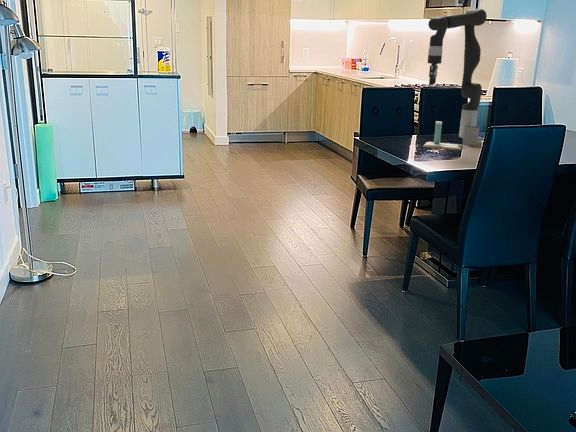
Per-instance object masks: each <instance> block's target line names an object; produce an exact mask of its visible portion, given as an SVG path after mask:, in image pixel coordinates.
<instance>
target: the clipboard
mask: <svg viewBox="0 0 576 432" xmlns="http://www.w3.org/2000/svg"><path fill="white" fill-rule="evenodd" d="M424 143H425V144H424V145H422V147H423V148H429V149H431V148H432V149H441V150H442V149H443V150H453V151H461V150H462V149H463V146H464V144H461V143H460V144H459V143H449V142H440V143H439V144H434V141H426V142H424Z"/></svg>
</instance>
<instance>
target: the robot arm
mask: <svg viewBox="0 0 576 432" xmlns="http://www.w3.org/2000/svg"><path fill="white" fill-rule="evenodd" d="M486 20H487V12H486V11H485V10H484V9H482V8H470V9H467V10H466V11H465V13H454V14H449V15H443V16H433V17H431V18H430V19H429V21H428V24H427V25H428V28H429V29H430V30H431V31H436V33H435V34H432V35H431V36H430V38H429V45H428V46H429V47H428V54H427V64H431V65H429V72H428V78H429V82H428V85H430V86H434V85H435V84H436V83H437V82H436V80H437V76H438V69H439V66H438V64H439V65H440V64H441V63H442V61H443V60H442V57H443V43H444V38H445V35H446V32H447V29H449V30H450V29H455V28H458V27H464V53H463V54H464V55H463V72H462V73H463V74H462V81H461V89H460V91H461V96H462V98H464V99H469V102H467V103H464V104H463V105H462V108H461V115H460V116H461V117H460V124H459V125H460V126H459V132H458V138H459V137H460V138H459V139H463V135H464V127H465V126H477V117H478V110H479V106H480V104H481V97H482V91H483V90H482V89H483V86H482V84H481V83H477V82H472V78H473V74H474V72H475V70H476V69H477V67H478V65H479V63H480V62H481V53H482V52H481V51H482V50H481V46H480V44H479V43H480V42H479V41H478V39H477V37H476V33H475V27H479V26H482V25H484V23H485V22H486Z"/></svg>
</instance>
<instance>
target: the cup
mask: <svg viewBox="0 0 576 432" xmlns="http://www.w3.org/2000/svg"><path fill="white" fill-rule="evenodd" d="M479 136H480V126H477V125H476V126H465V127H464V135H463V138H462V145H465V144H466V146H478V144H479V142H478V141H479Z"/></svg>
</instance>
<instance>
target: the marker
mask: <svg viewBox="0 0 576 432" xmlns="http://www.w3.org/2000/svg"><path fill="white" fill-rule="evenodd" d="M442 125H443V121H438V120H436V121H435V128H434V129H435V130H434V134H433V135H434V136H433V142H434V144H439V143H441V136H442V135H441V134H442Z"/></svg>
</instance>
